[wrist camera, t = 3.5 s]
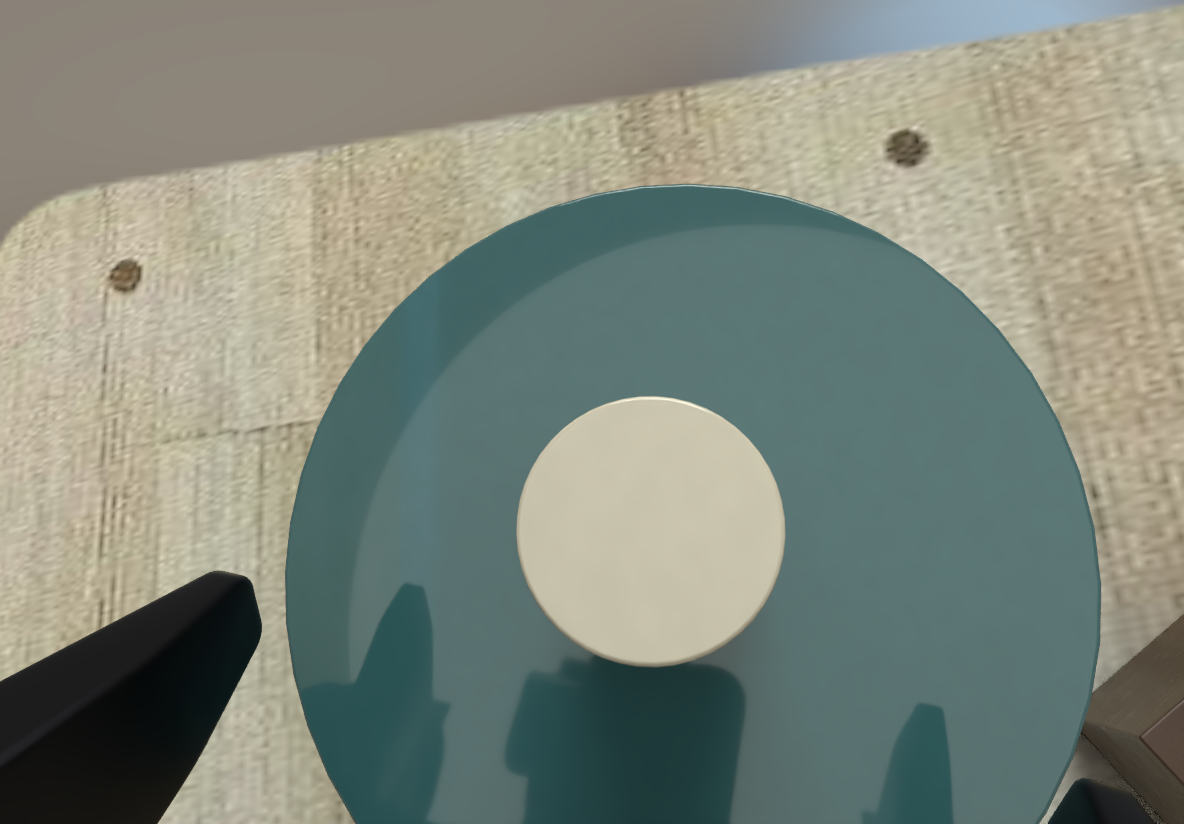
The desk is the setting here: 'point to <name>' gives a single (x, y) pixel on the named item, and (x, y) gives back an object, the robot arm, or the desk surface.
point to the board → (1146, 723)
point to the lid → (691, 535)
